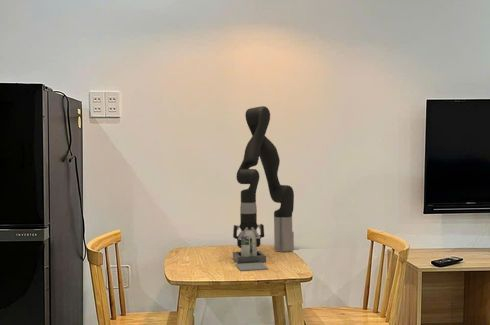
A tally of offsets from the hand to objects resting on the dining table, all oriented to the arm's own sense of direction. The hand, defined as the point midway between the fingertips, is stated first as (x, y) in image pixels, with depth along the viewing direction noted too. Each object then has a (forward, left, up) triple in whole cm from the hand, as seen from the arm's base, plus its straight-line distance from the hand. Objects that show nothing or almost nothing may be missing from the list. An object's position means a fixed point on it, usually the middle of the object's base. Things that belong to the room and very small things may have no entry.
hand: (248, 247), depth 226 cm
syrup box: (0, 0, -6) cm, 6 cm away
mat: (+2, +14, -6) cm, 15 cm away
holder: (0, 0, -6) cm, 6 cm away
